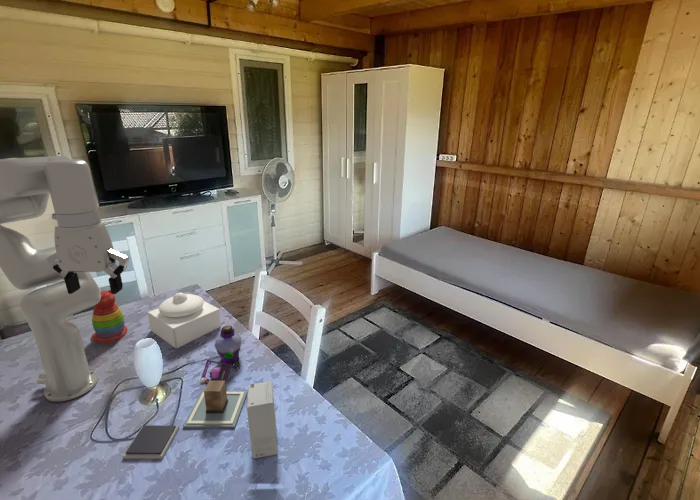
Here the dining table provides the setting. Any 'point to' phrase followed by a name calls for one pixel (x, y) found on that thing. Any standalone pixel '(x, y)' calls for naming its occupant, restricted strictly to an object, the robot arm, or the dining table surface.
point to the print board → (216, 420)
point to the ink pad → (151, 442)
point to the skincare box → (262, 419)
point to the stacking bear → (107, 320)
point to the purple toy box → (216, 372)
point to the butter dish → (183, 319)
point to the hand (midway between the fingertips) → (96, 291)
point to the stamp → (215, 396)
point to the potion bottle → (228, 345)
